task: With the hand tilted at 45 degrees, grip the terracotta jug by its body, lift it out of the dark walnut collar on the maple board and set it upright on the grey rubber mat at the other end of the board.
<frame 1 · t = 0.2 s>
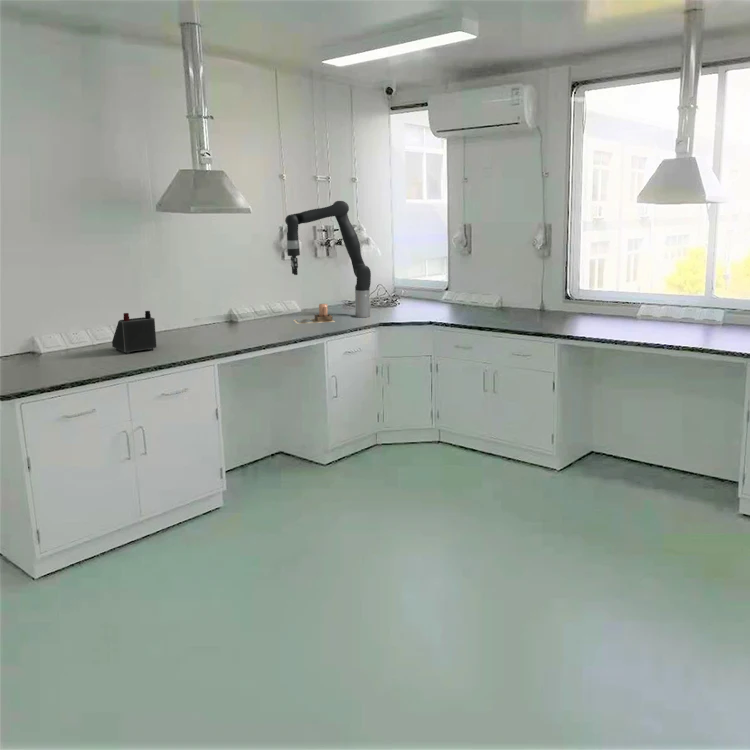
hand: (294, 274, 430), 28 cm above the counter, fingers open, 8 cm apart
station board: (313, 322, 427), on the counter
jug: (323, 320, 429), point 1 cm above the counter, touching station board
voltmeter: (134, 350, 348), on the counter
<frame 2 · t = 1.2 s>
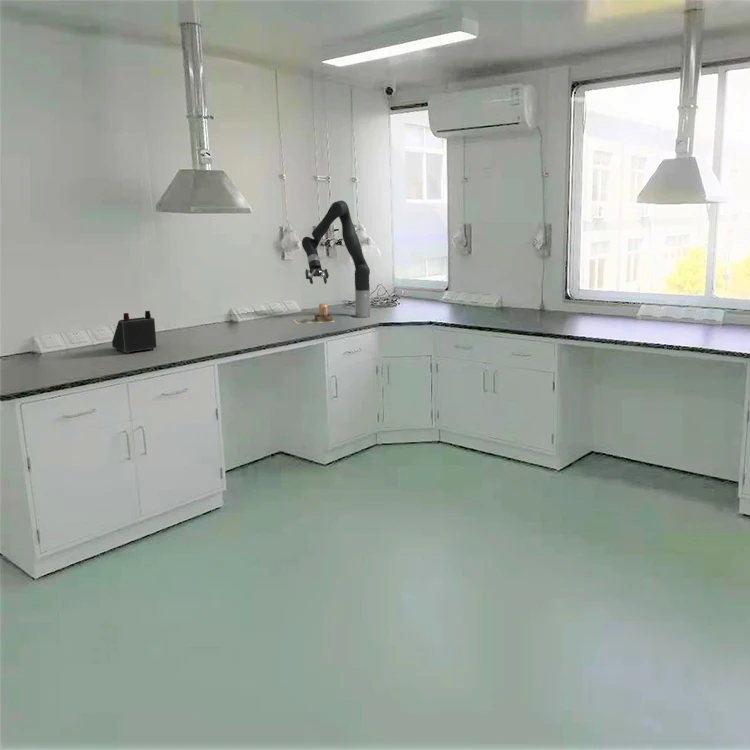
hand: (318, 283, 434), 23 cm above the counter, fingers open, 8 cm apart
nothing on the counter moved.
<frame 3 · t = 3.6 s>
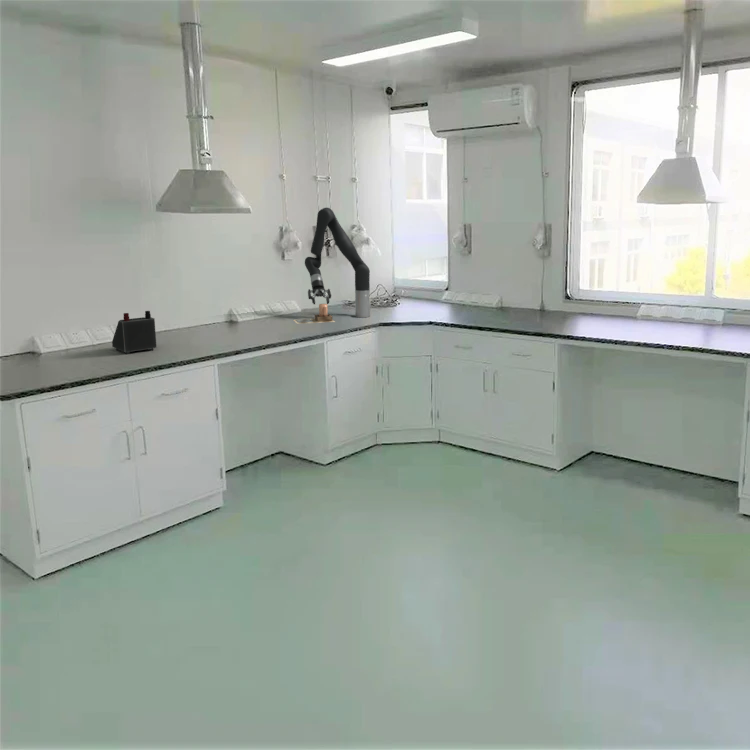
hand: (321, 303, 431), 11 cm above the counter, fingers open, 8 cm apart
nothing on the counter moved.
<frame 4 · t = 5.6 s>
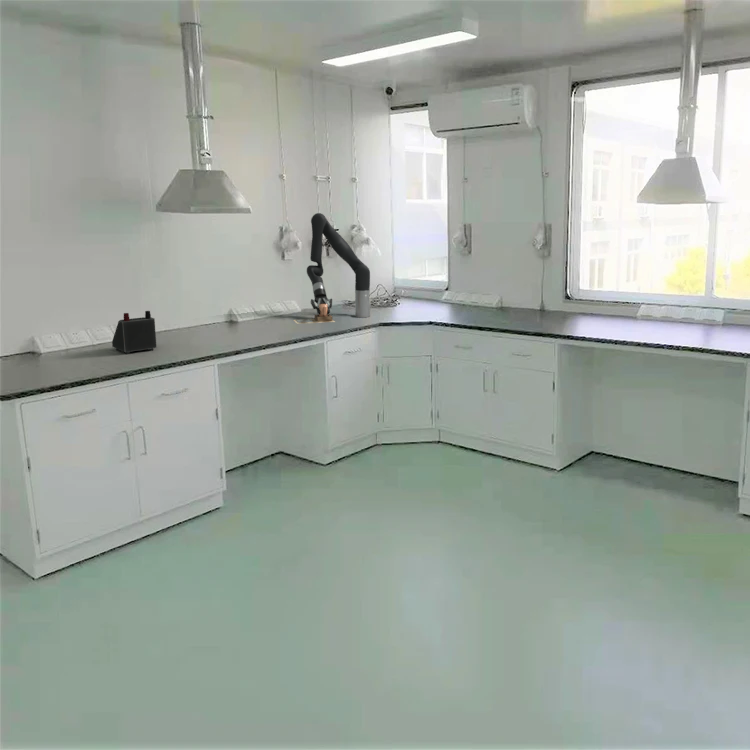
hand: (324, 313, 426), 6 cm above the counter, fingers closed on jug, 5 cm apart
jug: (323, 320, 429), point 1 cm above the counter, touching gripper, station board
everything else where it was.
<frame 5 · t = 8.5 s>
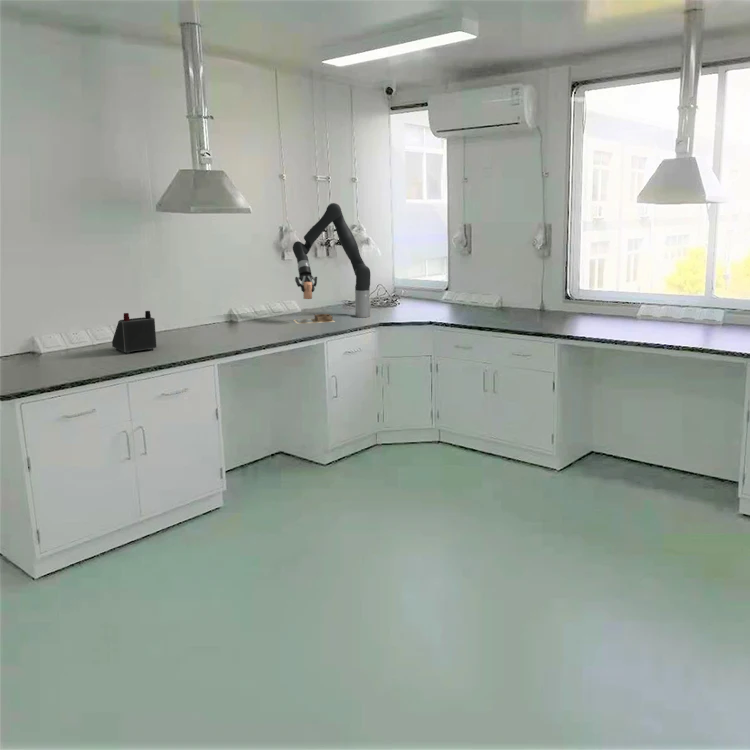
hand: (308, 291, 420), 20 cm above the counter, fingers closed on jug, 5 cm apart
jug: (307, 298, 423), point 15 cm above the counter, touching gripper
everything else where it was.
when the fingers open (7 cm above the counter, at t = 11.6 s): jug drops 1 cm, resting on station board.
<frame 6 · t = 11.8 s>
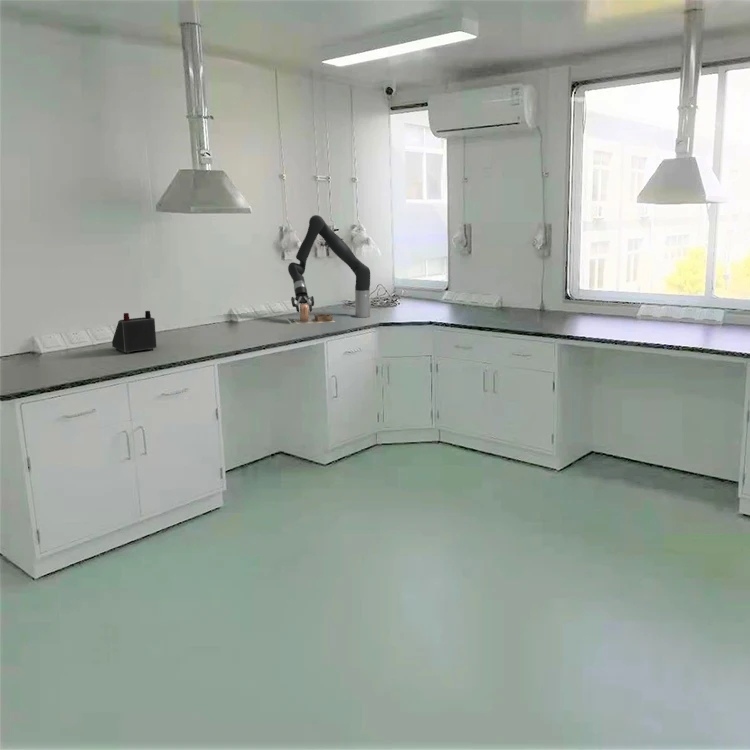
hand: (304, 311, 422), 7 cm above the counter, fingers open, 7 cm apart
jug: (304, 320, 425), point 1 cm above the counter, touching station board
everything else where it was.
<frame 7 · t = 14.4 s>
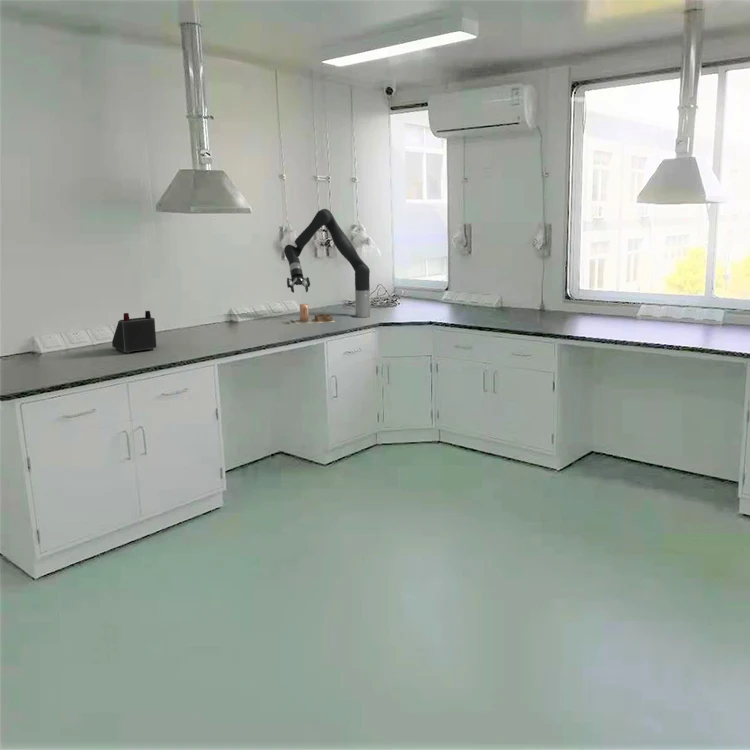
hand: (300, 291, 432), 18 cm above the counter, fingers open, 8 cm apart
nothing on the counter moved.
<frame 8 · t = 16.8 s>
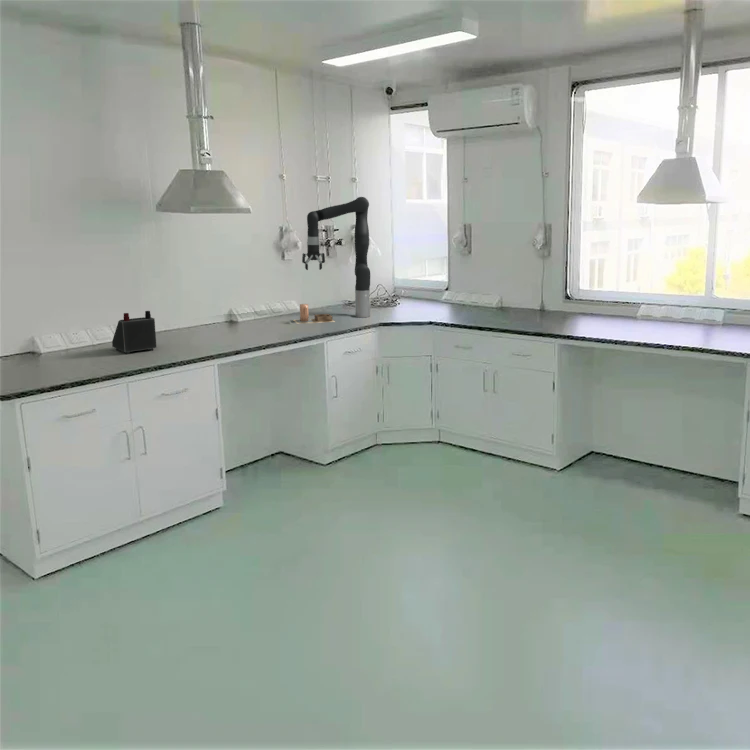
hand: (313, 269, 441), 30 cm above the counter, fingers open, 8 cm apart
nothing on the counter moved.
at the end: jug inside the target area (0.2 cm from its centre), point 1.3 cm above the counter; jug tilted 0°; the gripper is holding nothing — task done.
